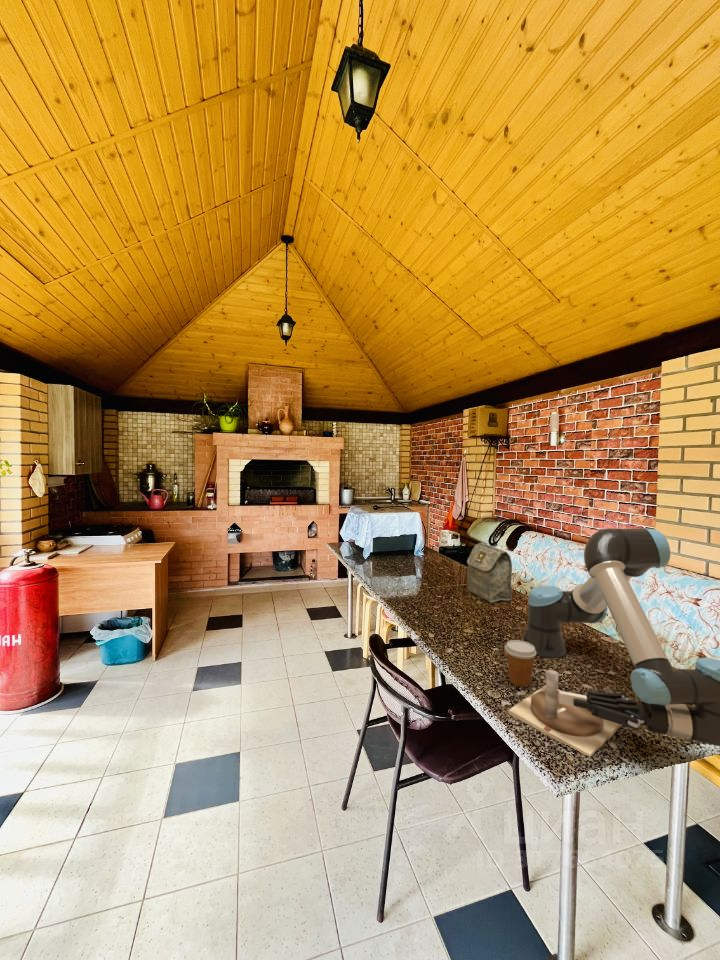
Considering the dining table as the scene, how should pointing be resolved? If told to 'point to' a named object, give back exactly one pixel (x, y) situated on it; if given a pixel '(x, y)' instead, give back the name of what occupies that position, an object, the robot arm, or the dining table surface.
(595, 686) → the dining table surface
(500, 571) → the bag
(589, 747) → the dial base
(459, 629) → the dining table surface
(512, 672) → the disposable coffee cup
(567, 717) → the dial
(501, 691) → the dining table surface
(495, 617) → the dining table surface
